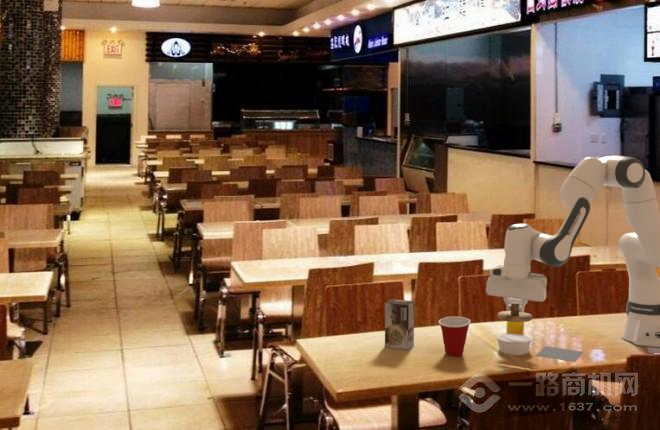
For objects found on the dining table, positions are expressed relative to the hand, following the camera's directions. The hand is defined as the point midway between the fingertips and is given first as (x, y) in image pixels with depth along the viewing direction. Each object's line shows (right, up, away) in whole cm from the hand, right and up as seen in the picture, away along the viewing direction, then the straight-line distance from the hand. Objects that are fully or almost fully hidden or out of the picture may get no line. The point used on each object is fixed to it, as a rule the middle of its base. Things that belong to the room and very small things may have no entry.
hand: (515, 310), depth 263 cm
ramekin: (0, -15, +2) cm, 15 cm away
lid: (0, -2, 0) cm, 2 cm away
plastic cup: (-21, -15, -1) cm, 26 cm away
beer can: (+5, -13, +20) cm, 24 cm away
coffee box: (-39, -14, +8) cm, 42 cm away
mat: (+15, -15, -1) cm, 21 cm away
